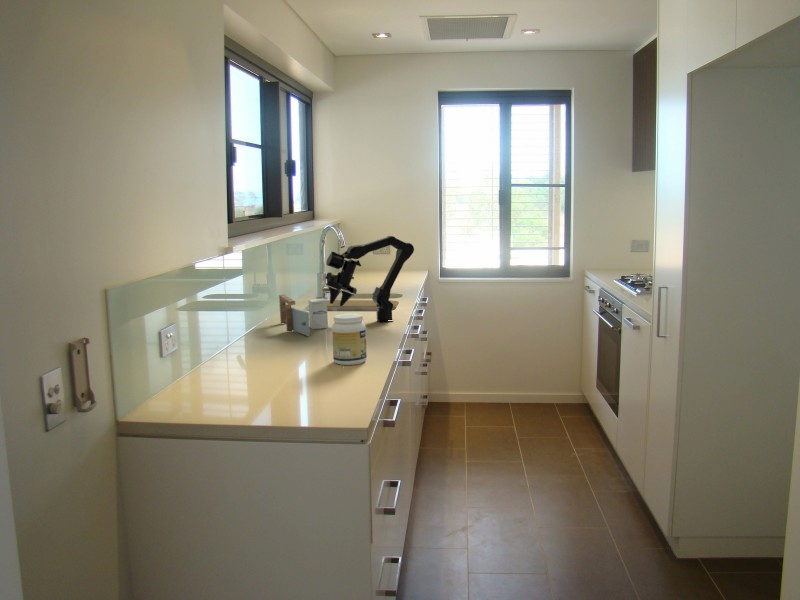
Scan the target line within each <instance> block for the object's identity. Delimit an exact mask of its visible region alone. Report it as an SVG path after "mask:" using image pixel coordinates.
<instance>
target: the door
mask: <svg viewBox="0 0 800 600" xmlns="http://www.w3.org/2000/svg"><path fill="white" fill-rule="evenodd" d="M291 313H292V331H294V332H297V333H299V334H302V335H305V336H306V337H309V336H311V332H310V321H309V311H305V310H303V309H299V308H296V307H291Z"/></svg>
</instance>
